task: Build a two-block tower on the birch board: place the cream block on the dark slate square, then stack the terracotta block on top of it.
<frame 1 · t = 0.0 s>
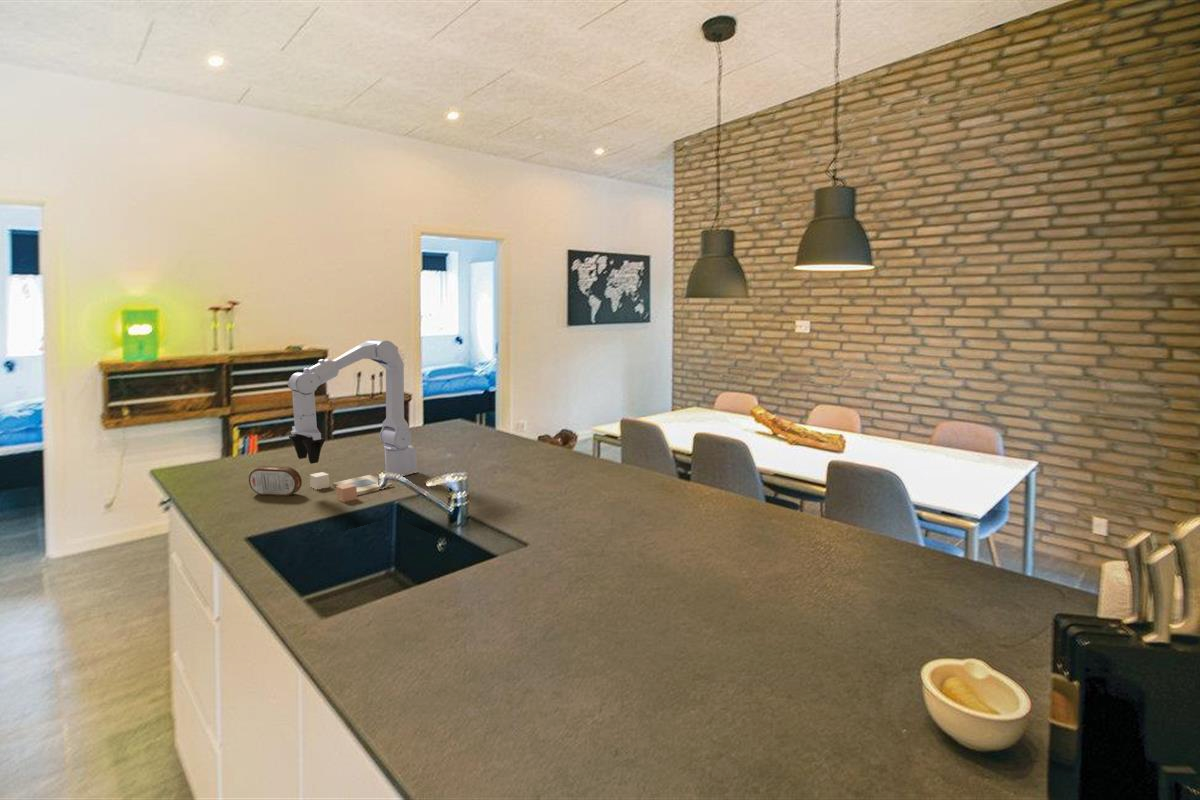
hand: (308, 460, 179), 10 cm above the countertop, tool pointing down, fingers open, 7 cm apart
tin: (275, 495, 180), on the countertop
base board: (362, 486, 188), on the countertop
block base: (320, 487, 187), on the countertop
block top: (346, 499, 176), on the countertop
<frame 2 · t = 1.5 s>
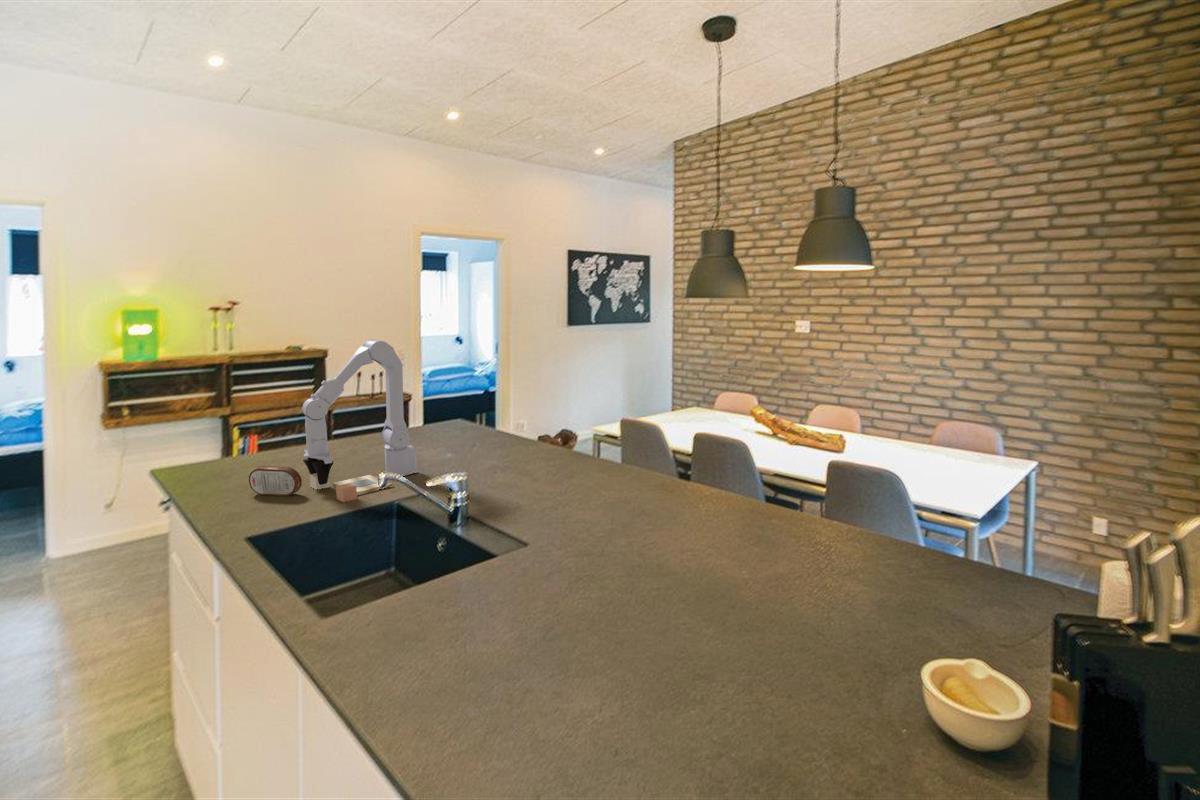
hand: (319, 482, 187), 1 cm above the countertop, tool pointing down, fingers closed on block base, 4 cm apart
block base: (320, 487, 187), on the countertop, touching gripper
everything else where it was.
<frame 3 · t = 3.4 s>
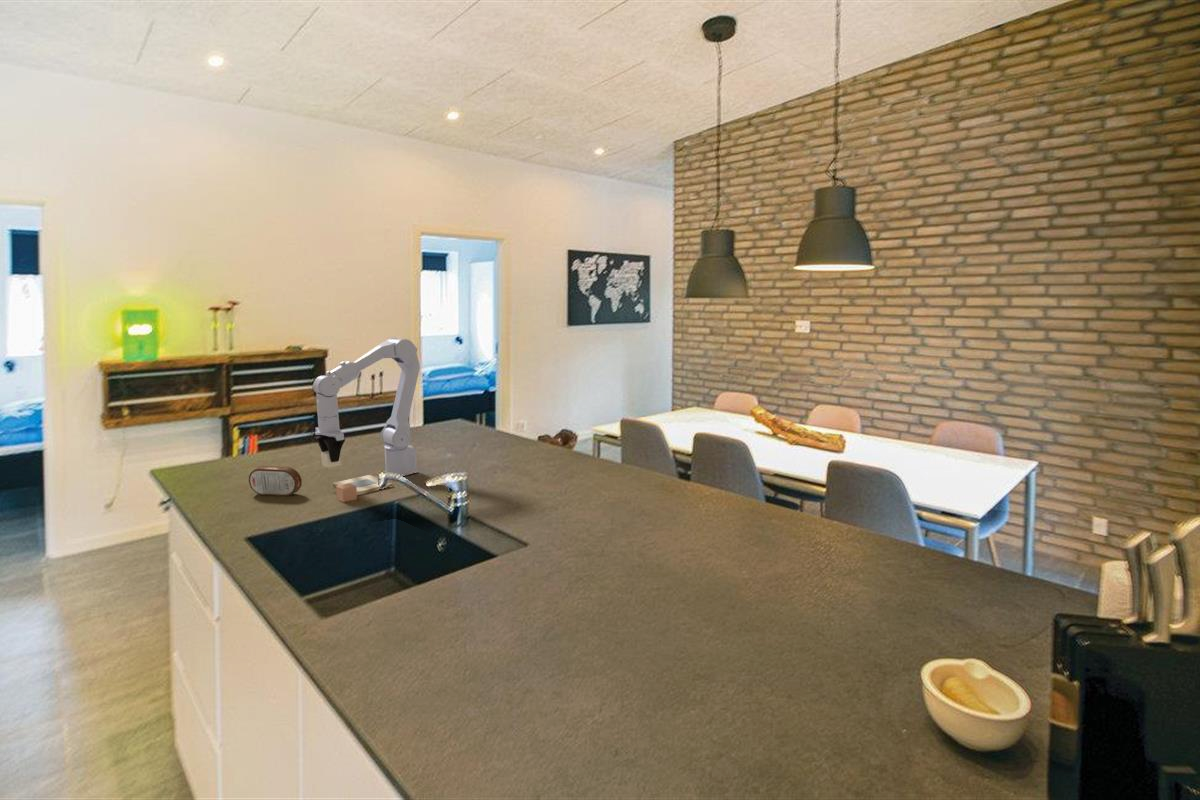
hand: (331, 460, 186), 8 cm above the countertop, tool pointing down, fingers closed on block base, 4 cm apart
block base: (331, 464, 187), point 7 cm above the countertop, touching gripper
everything else where it was.
when the fingers open (4 cm above the countertop, at t = 5.2 s): block base stays where it is, resting on base board.
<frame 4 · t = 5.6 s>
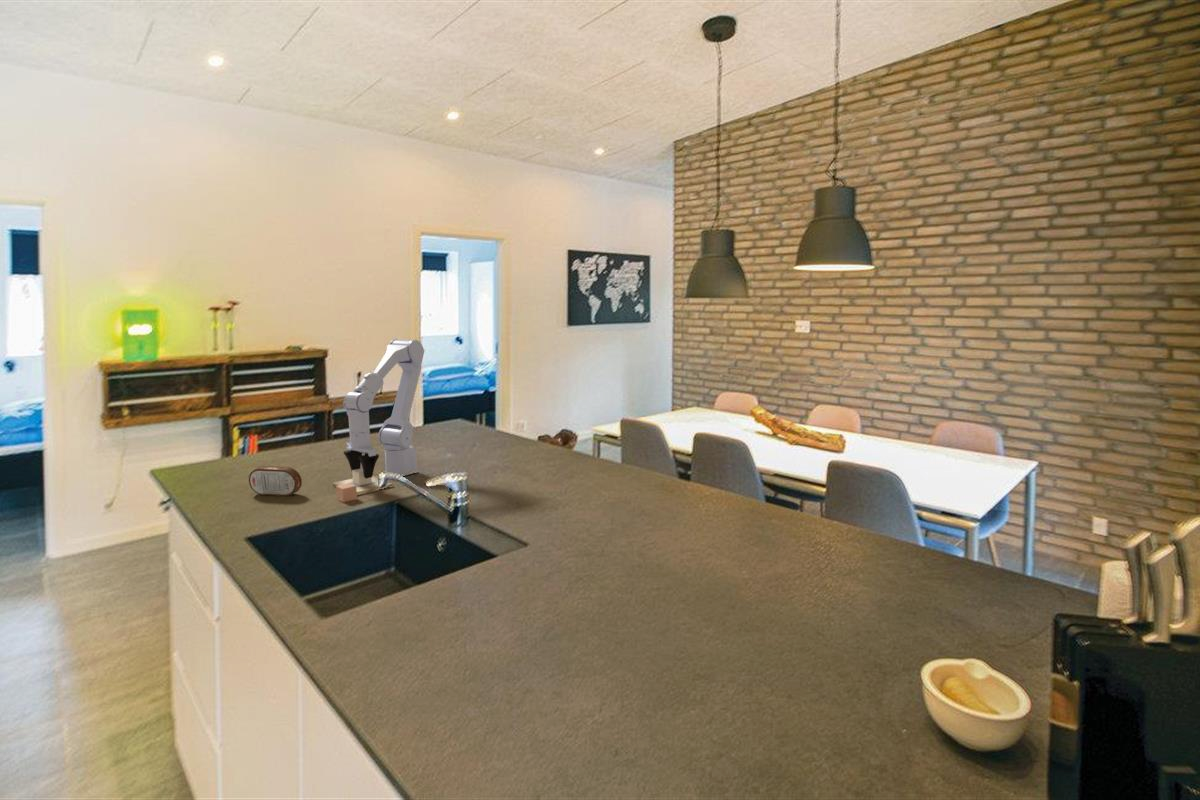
hand: (362, 475, 188), 4 cm above the countertop, tool pointing down, fingers open, 7 cm apart
block base: (362, 482, 188), point 1 cm above the countertop, touching base board
everything else where it was.
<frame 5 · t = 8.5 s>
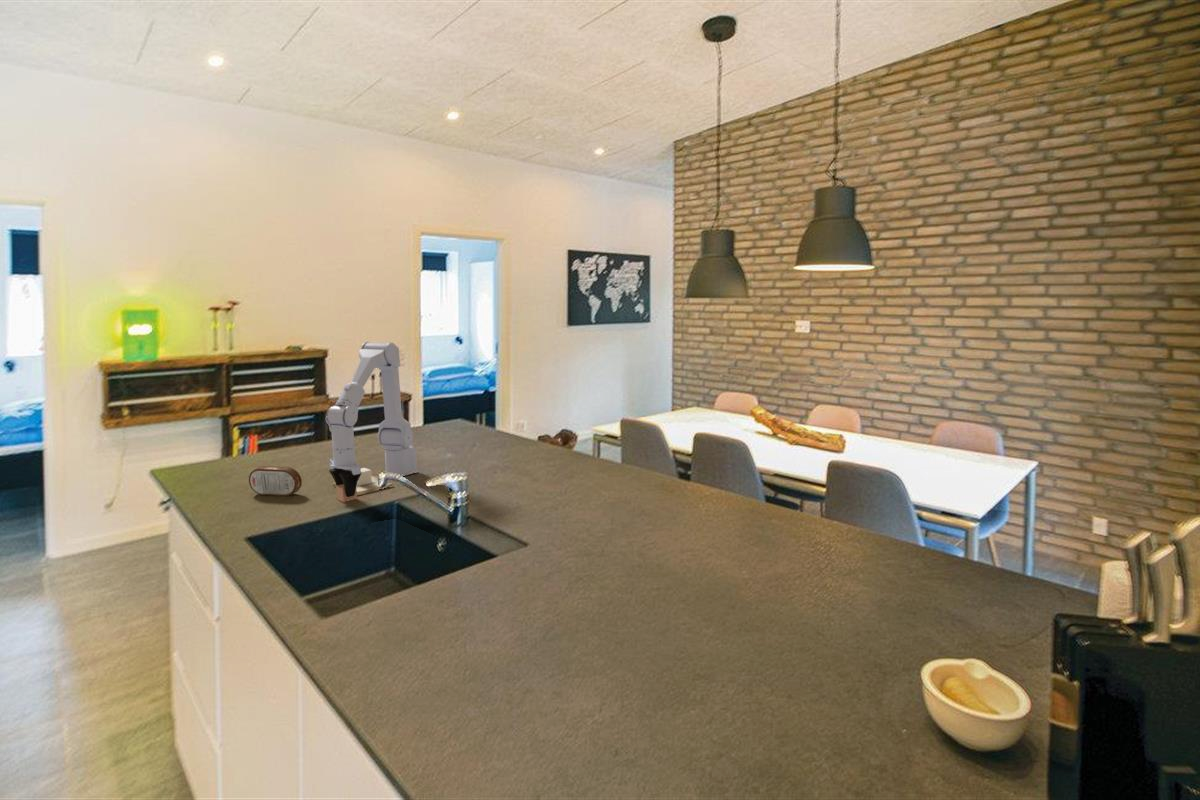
hand: (346, 494, 176), 1 cm above the countertop, tool pointing down, fingers closed on block top, 4 cm apart
block top: (346, 499, 176), on the countertop, touching gripper
everything else where it was.
when the fingers open (7 cm above the countertop, at t = 11.4 s): block top stays where it is, resting on block base.
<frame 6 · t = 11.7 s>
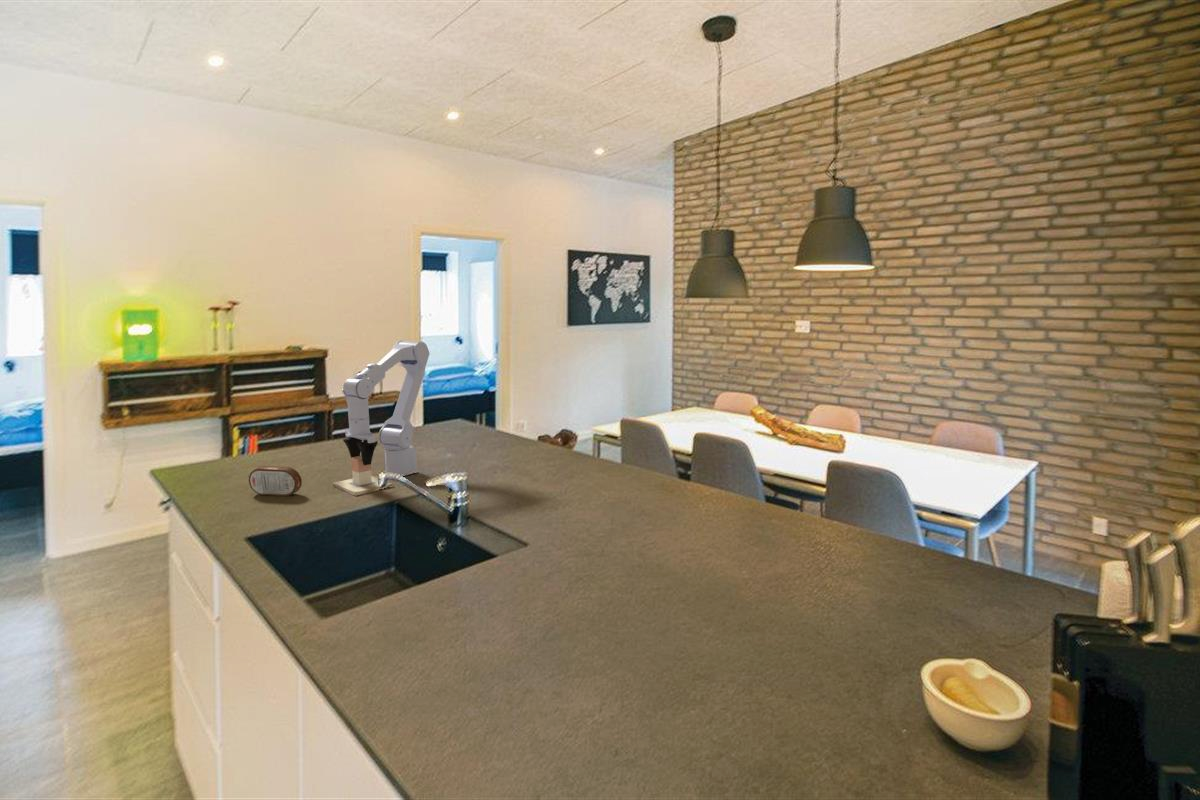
hand: (361, 462, 187), 8 cm above the countertop, tool pointing down, fingers open, 6 cm apart
block base: (362, 482, 188), point 1 cm above the countertop, touching base board, block top
block top: (361, 470, 187), point 5 cm above the countertop, touching block base
everything else where it was.
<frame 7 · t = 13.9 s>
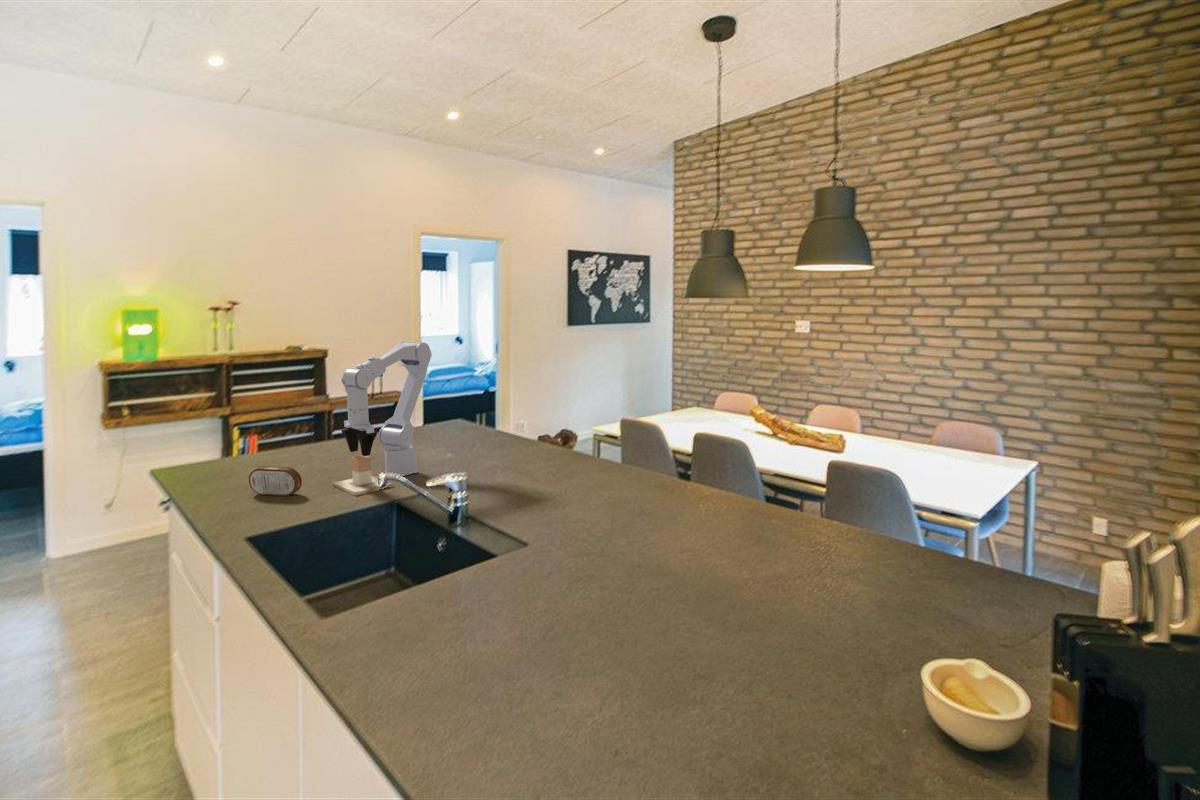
hand: (359, 453, 186), 10 cm above the countertop, tool pointing down, fingers open, 7 cm apart
nothing on the countertop moved.
at the end: block base 0.1 cm off-centre on the base board, point 1.1 cm above the base board's base; block top 0.1 cm off-centre on the base board, point 5.1 cm above the base board's base; block top tilted 0° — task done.
